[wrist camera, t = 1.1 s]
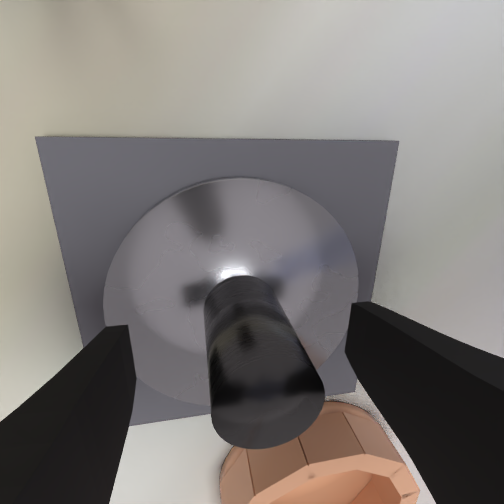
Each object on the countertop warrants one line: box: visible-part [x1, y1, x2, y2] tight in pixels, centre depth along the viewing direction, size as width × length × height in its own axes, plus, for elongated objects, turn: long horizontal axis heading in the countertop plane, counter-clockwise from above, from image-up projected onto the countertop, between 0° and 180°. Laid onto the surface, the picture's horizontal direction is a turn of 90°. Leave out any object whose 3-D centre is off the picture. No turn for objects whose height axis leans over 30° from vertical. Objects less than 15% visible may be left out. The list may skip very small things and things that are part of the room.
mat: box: [35, 137, 399, 426], centre depth 12 cm, size 12×12×1 cm
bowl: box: [220, 402, 420, 504], centre depth 16 cm, size 10×10×3 cm
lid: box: [103, 176, 359, 449], centre depth 10 cm, size 10×10×5 cm
